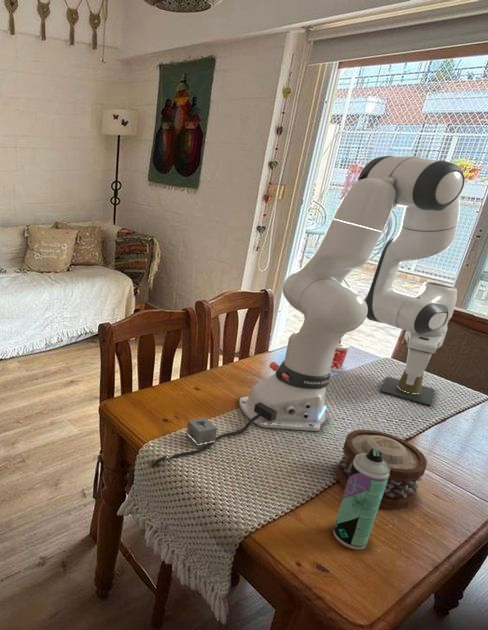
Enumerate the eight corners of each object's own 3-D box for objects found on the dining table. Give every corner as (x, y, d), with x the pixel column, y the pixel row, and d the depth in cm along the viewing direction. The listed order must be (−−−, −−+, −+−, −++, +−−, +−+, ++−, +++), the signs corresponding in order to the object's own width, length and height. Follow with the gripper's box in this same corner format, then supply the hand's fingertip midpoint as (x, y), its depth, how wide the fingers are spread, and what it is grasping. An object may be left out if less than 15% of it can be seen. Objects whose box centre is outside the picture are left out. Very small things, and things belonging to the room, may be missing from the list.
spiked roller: (450, 468, 86) (374, 467, 86) (434, 510, 90) (361, 510, 90) (398, 423, 100) (332, 423, 100) (385, 462, 104) (322, 462, 104)
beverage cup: (318, 365, 150) (327, 327, 145) (332, 363, 152) (341, 325, 147) (333, 373, 145) (343, 334, 140) (348, 371, 146) (358, 332, 141)
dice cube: (202, 433, 114) (205, 417, 113) (214, 444, 110) (216, 428, 108) (186, 436, 113) (188, 420, 111) (197, 448, 108) (199, 431, 107)
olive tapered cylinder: (410, 396, 130) (420, 363, 126) (391, 386, 136) (401, 354, 132) (425, 393, 132) (436, 360, 128) (406, 383, 137) (416, 352, 133)
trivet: (429, 406, 126) (430, 404, 126) (380, 392, 134) (380, 390, 134) (433, 390, 135) (433, 388, 135) (386, 377, 142) (387, 376, 142)
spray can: (354, 525, 86) (380, 441, 79) (373, 549, 81) (402, 461, 74) (327, 526, 86) (350, 442, 79) (344, 550, 81) (371, 462, 74)
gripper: (414, 323, 137) (401, 362, 142) (407, 344, 122) (394, 387, 127) (439, 328, 133) (426, 368, 138) (436, 350, 119) (421, 394, 124)
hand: (410, 377), depth 133 cm, fingers open, 8 cm apart
